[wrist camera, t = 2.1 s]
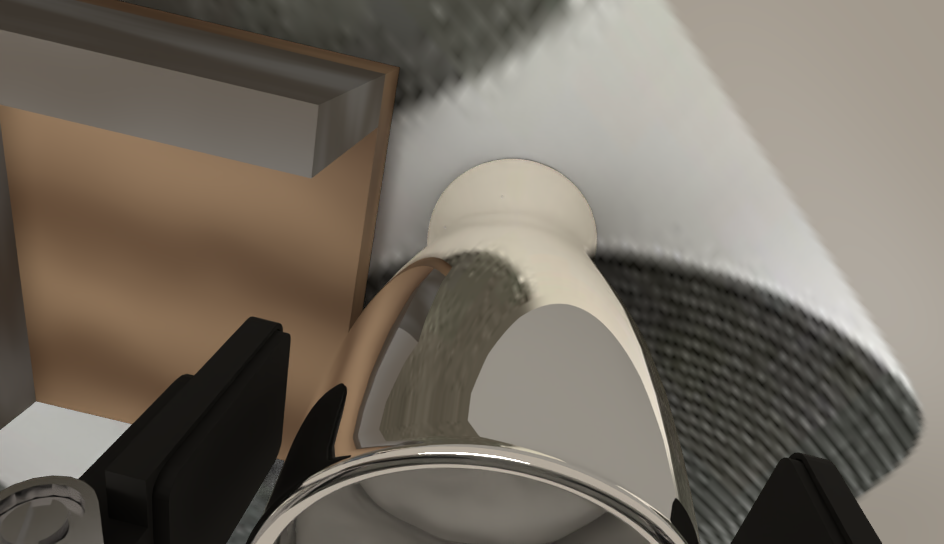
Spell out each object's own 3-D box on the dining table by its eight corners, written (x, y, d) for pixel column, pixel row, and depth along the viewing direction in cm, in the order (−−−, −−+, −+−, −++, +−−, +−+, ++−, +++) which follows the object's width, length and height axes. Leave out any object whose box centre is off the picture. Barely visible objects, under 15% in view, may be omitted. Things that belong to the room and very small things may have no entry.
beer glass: (650, 232, 21) (860, 653, 7) (519, 355, 24) (497, 832, 10) (500, 101, 20) (422, 321, 6) (380, 246, 22) (135, 629, 9)
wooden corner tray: (342, 438, 26) (268, 604, 19) (35, 365, 26) (-156, 503, 19) (399, 67, 19) (318, 105, 12) (-14, -32, 20) (-340, -52, 12)
